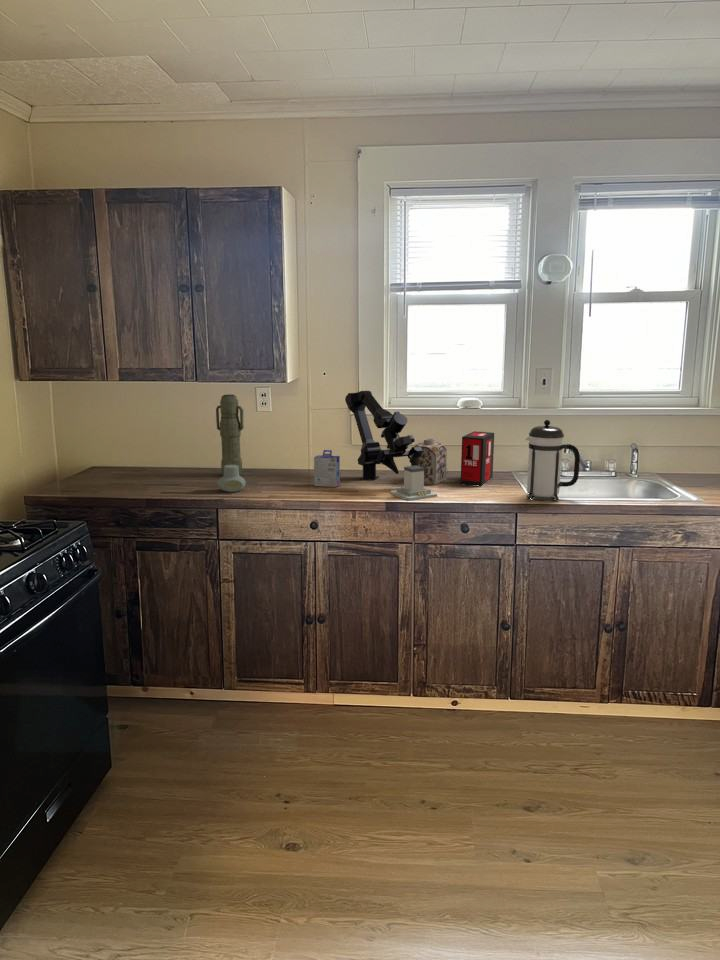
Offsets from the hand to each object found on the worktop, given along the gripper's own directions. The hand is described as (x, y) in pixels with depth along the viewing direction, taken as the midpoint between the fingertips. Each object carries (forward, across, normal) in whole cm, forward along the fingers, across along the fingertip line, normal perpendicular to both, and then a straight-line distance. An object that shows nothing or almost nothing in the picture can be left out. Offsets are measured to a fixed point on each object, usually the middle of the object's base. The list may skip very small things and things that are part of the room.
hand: (407, 472), depth 274 cm
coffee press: (+29, +42, -17) cm, 54 cm away
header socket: (+9, 0, +3) cm, 9 cm away
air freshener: (-20, -59, +33) cm, 70 cm away
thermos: (-40, -49, +52) cm, 82 cm away
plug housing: (+8, 0, +2) cm, 8 cm away
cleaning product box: (+4, +36, +8) cm, 38 cm away
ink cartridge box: (-13, -22, +25) cm, 36 cm away
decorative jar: (-3, +19, +15) cm, 25 cm away
